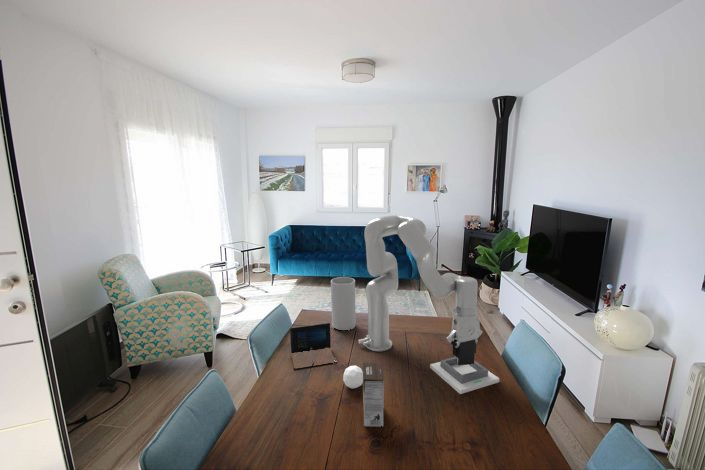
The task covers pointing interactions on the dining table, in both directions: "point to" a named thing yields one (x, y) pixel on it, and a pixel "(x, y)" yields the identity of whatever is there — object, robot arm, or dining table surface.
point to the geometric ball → (353, 377)
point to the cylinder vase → (343, 303)
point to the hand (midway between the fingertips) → (464, 353)
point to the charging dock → (464, 375)
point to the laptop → (310, 337)
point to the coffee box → (373, 394)
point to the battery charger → (466, 353)
